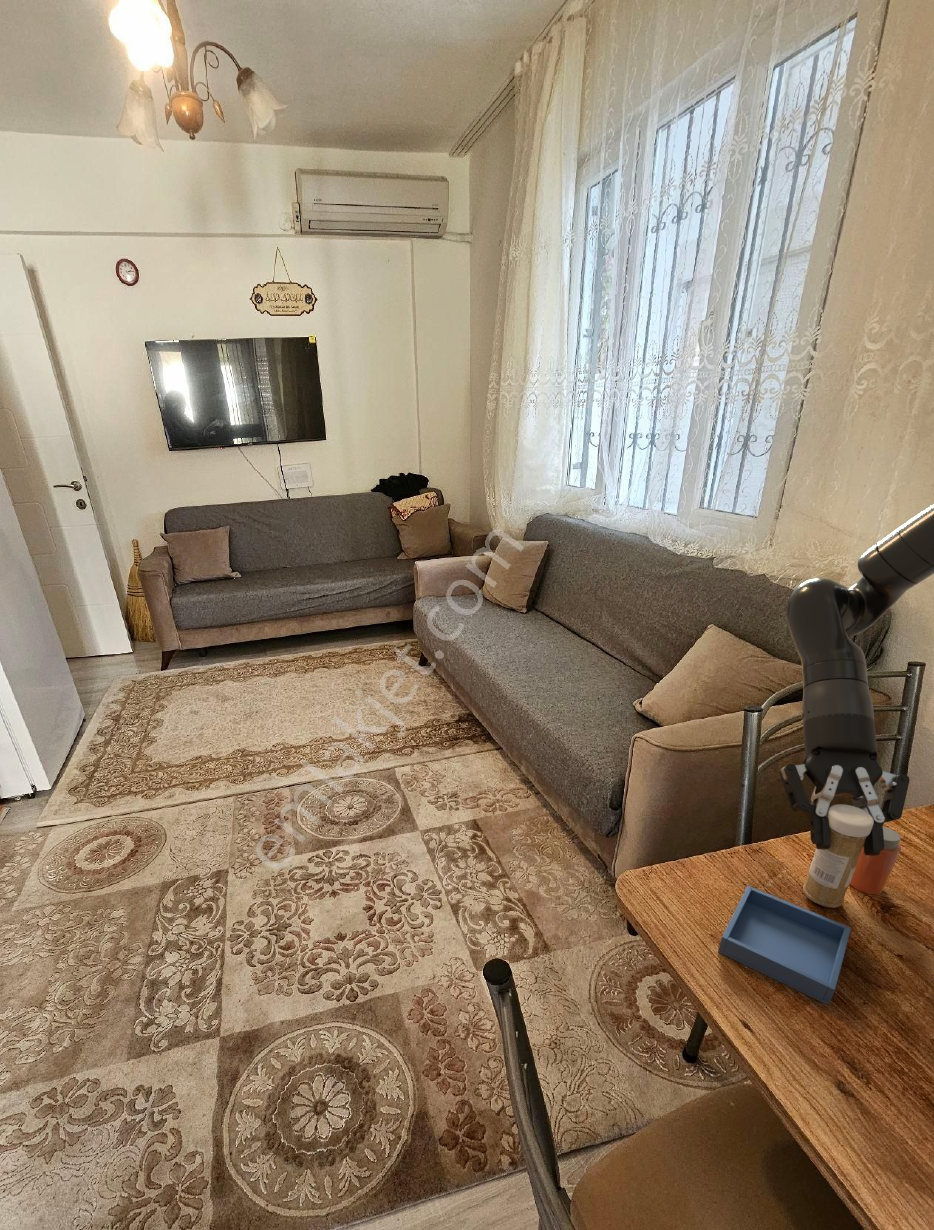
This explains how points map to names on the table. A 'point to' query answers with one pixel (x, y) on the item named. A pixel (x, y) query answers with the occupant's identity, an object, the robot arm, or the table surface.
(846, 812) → the sprinkles bottle
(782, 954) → the blue tray
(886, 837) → the terracotta shaker
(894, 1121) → the table surface
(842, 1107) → the table surface
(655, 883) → the table surface
